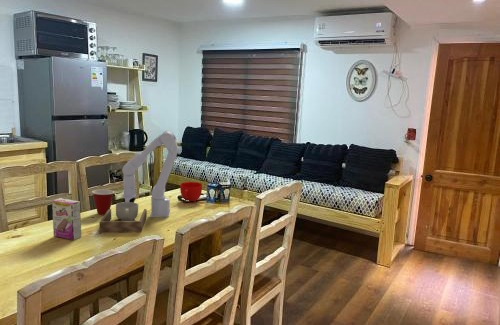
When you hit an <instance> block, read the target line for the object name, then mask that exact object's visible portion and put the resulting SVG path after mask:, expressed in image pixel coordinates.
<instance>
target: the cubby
mask: <svg viewBox="0 0 500 325" xmlns="http://www.w3.org/2000/svg"><path fill="white" fill-rule="evenodd" d="M147 211H148V209H146V208H144V209H143V212H142V213H141V215H140V218H139V220H132V221H121V220H112V209H111V208H110V209H108V211H107V212H106V214H105V215H102V218H101V220H99V222H98V223H99V225H98V226H99V233H101V234H102V233H104V234H105V233H106V234H107V233H110V234H111V233H142V232H143V230H144V227H145V225H146V222H147V220H148V219H147V218H148V217H147V213H148V212H147Z"/></svg>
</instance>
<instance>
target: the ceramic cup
mask: <svg viewBox="0 0 500 325" xmlns="http://www.w3.org/2000/svg"><path fill="white" fill-rule="evenodd" d="M202 190H203V184H202V182H196V181H195V182H194V181H188V182H187V181H186V182H181V183H180V184H179V191H180V195H181V197H182V199H183V200H184V199H185V200H189V201H196V200H197V201H198V200H199V199H200V197H201V195H202V192H203V191H202ZM185 200H184V201H185ZM197 201H196V202H197Z"/></svg>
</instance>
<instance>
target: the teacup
mask: <svg viewBox="0 0 500 325" xmlns="http://www.w3.org/2000/svg"><path fill="white" fill-rule="evenodd" d="M138 215H139V203H137V202H134V203H133V202H129V203H125V202H124V201H123V202H117V203H116V204H115V216H116V218H117V219H118V221H135V219H136V218H137V217H138Z"/></svg>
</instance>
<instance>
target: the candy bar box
mask: <svg viewBox="0 0 500 325" xmlns="http://www.w3.org/2000/svg"><path fill="white" fill-rule="evenodd" d="M51 208H52V225H53V226H52V227H53V237H56V238H59V239H65V240H70V241H76V240H78V239H79V238H82V221H81V220H82V218H81V217H82V216H81V201H80V200H79V201H78V200H73V199H67V198H63V197H59V198H56V199H52V200H51Z"/></svg>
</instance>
